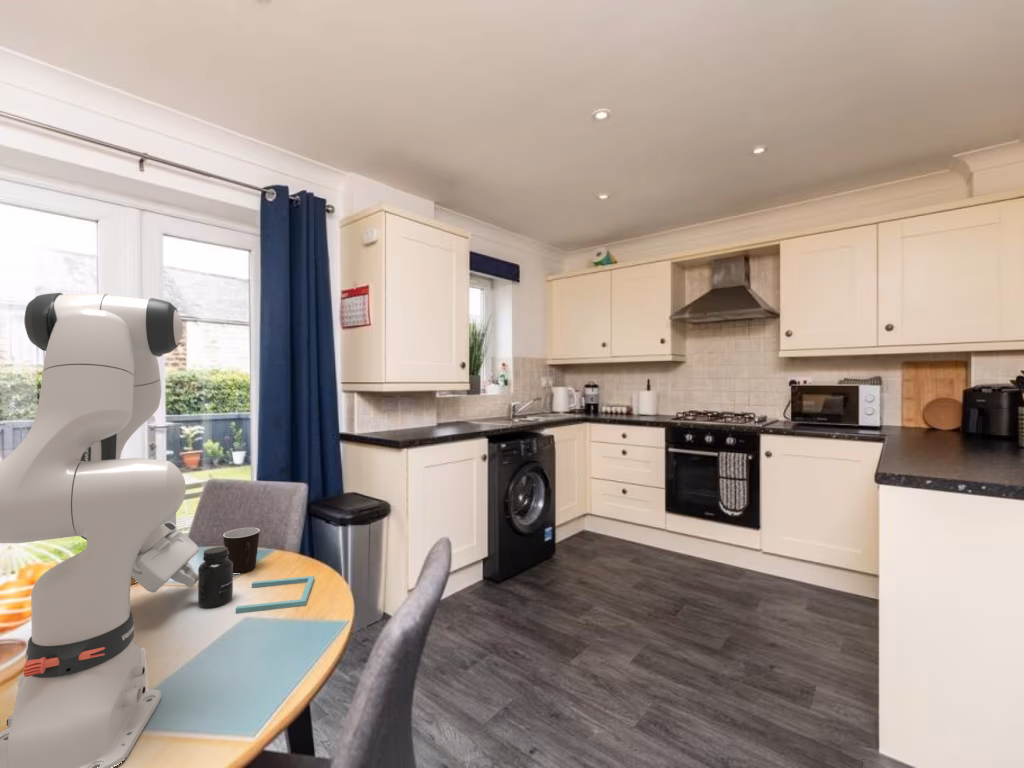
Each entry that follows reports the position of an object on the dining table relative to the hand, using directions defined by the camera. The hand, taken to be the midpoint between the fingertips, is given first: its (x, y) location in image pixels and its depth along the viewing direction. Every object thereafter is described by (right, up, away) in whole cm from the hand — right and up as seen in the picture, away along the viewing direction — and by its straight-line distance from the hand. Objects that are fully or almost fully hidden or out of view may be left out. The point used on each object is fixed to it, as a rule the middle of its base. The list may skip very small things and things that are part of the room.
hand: (195, 582), depth 110 cm
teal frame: (+17, -5, +5) cm, 18 cm away
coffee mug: (0, -5, +18) cm, 19 cm away
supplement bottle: (+4, -5, +1) cm, 7 cm away
